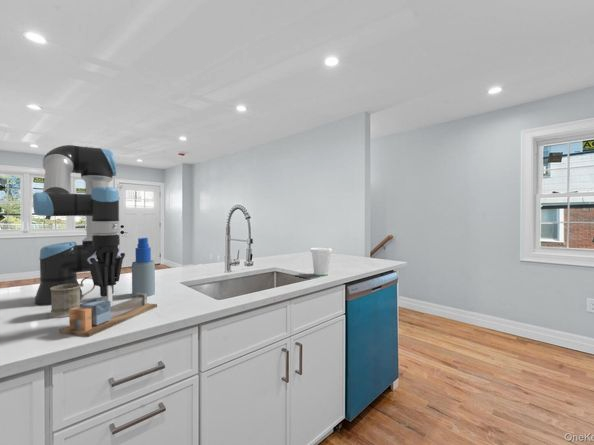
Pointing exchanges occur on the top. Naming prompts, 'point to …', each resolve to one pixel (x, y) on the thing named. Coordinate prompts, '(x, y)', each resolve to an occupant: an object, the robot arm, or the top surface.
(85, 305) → the slider
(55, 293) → the mug
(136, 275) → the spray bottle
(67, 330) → the rail board
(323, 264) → the cup
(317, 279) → the top surface
